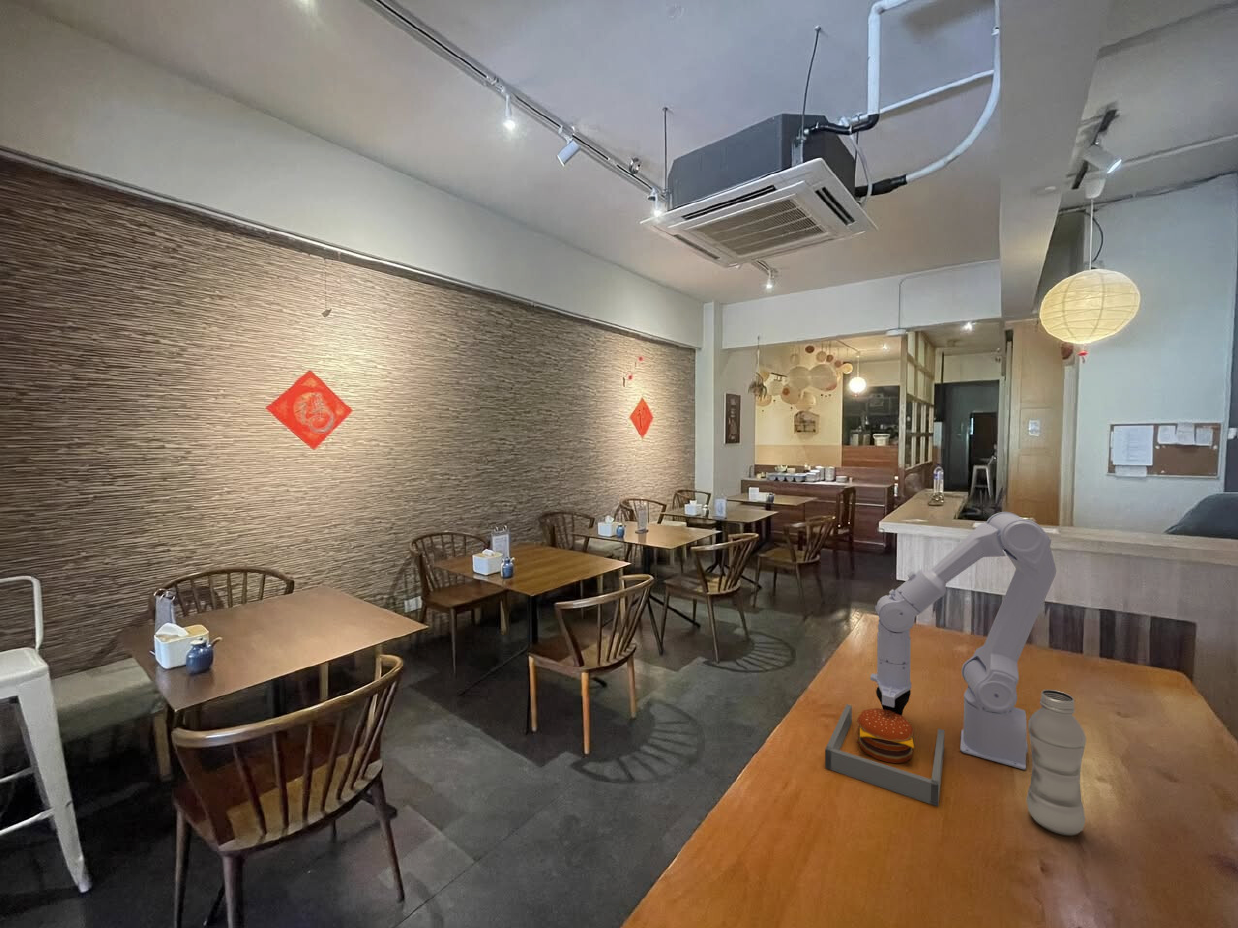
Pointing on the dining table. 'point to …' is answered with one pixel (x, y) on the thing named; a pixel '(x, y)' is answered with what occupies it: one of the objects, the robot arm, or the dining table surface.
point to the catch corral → (883, 766)
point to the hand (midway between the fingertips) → (893, 725)
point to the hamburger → (885, 735)
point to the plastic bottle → (1056, 765)
